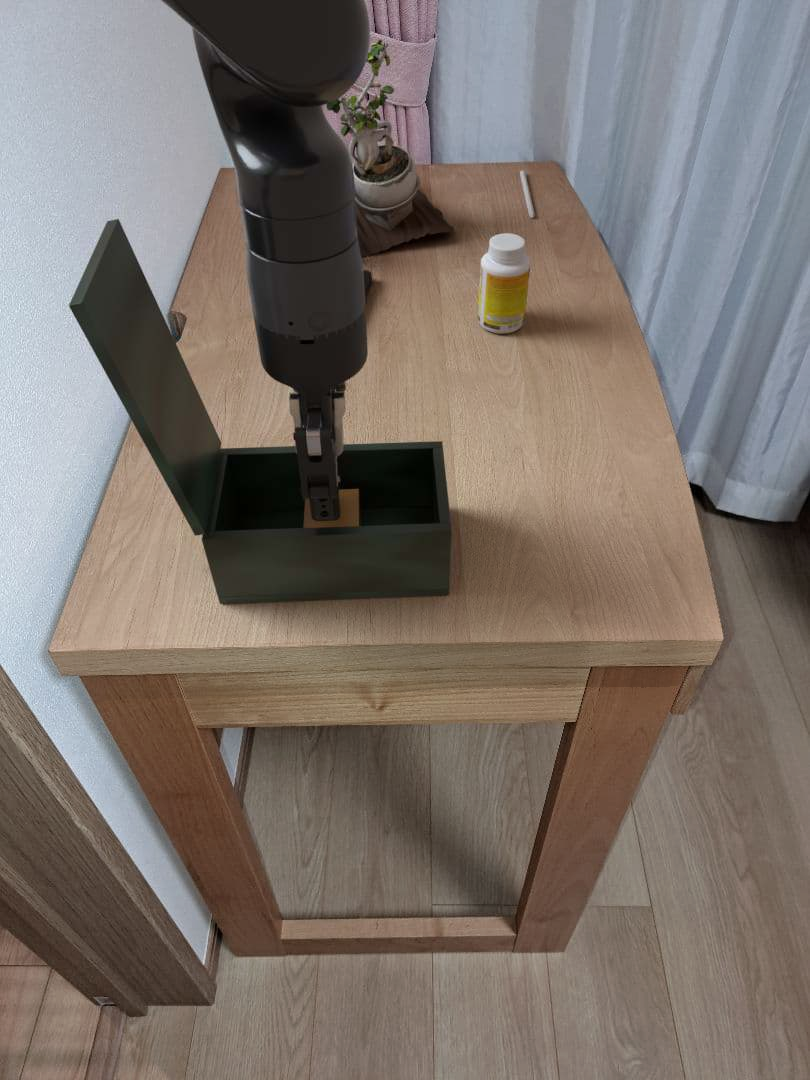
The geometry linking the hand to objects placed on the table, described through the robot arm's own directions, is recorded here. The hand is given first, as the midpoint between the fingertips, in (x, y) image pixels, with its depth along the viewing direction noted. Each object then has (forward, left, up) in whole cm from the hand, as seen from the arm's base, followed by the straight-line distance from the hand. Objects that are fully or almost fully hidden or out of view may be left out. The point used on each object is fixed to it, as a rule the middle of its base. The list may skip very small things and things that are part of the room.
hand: (328, 480), depth 67 cm
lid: (-10, +4, +10) cm, 15 cm away
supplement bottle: (+31, +26, -9) cm, 42 cm away
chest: (0, 0, -9) cm, 9 cm away
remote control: (+15, +37, -9) cm, 41 cm away
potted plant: (+26, +56, -9) cm, 63 cm away
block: (0, 0, -8) cm, 8 cm away
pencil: (+51, +55, -9) cm, 75 cm away
